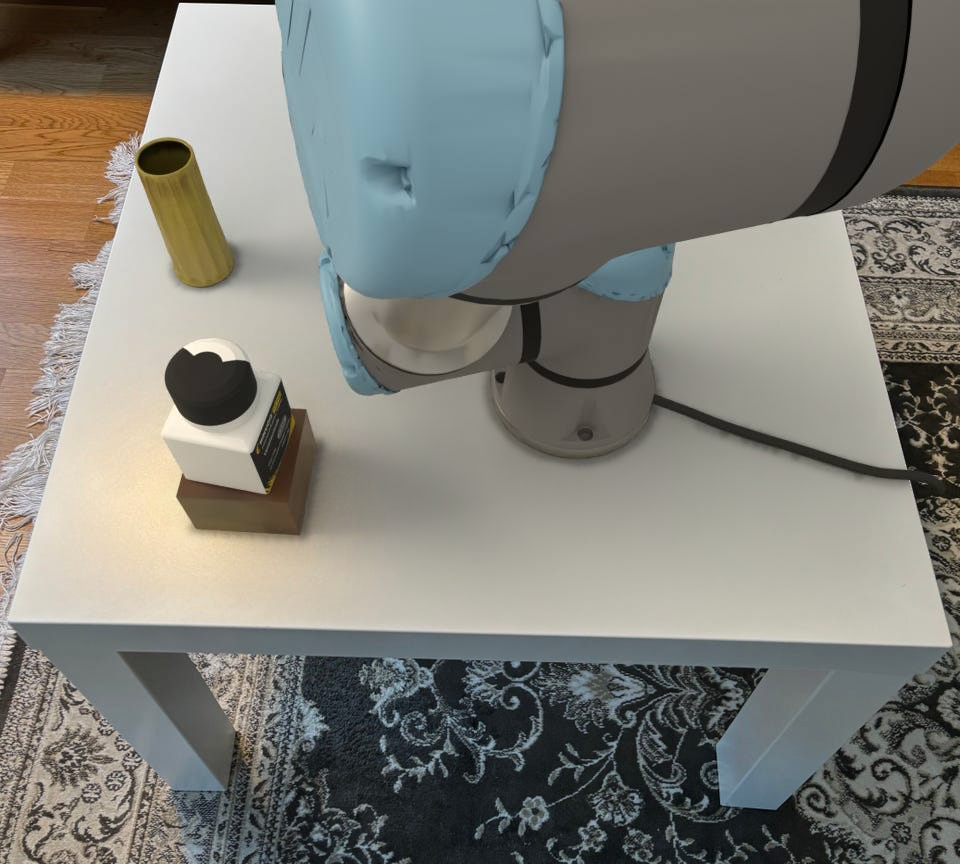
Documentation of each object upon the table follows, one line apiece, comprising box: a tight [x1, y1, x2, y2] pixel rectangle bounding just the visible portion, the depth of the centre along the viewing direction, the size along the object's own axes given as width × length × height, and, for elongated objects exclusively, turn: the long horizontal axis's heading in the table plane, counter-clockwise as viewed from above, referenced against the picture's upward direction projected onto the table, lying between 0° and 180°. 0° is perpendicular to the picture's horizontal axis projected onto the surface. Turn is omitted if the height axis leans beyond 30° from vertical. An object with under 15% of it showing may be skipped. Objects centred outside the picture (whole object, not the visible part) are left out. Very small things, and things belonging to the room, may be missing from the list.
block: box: [175, 407, 318, 536], centre depth 75 cm, size 9×9×6 cm
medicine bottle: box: [160, 337, 295, 494], centre depth 68 cm, size 7×7×12 cm
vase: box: [134, 136, 235, 288], centre depth 85 cm, size 6×6×14 cm
